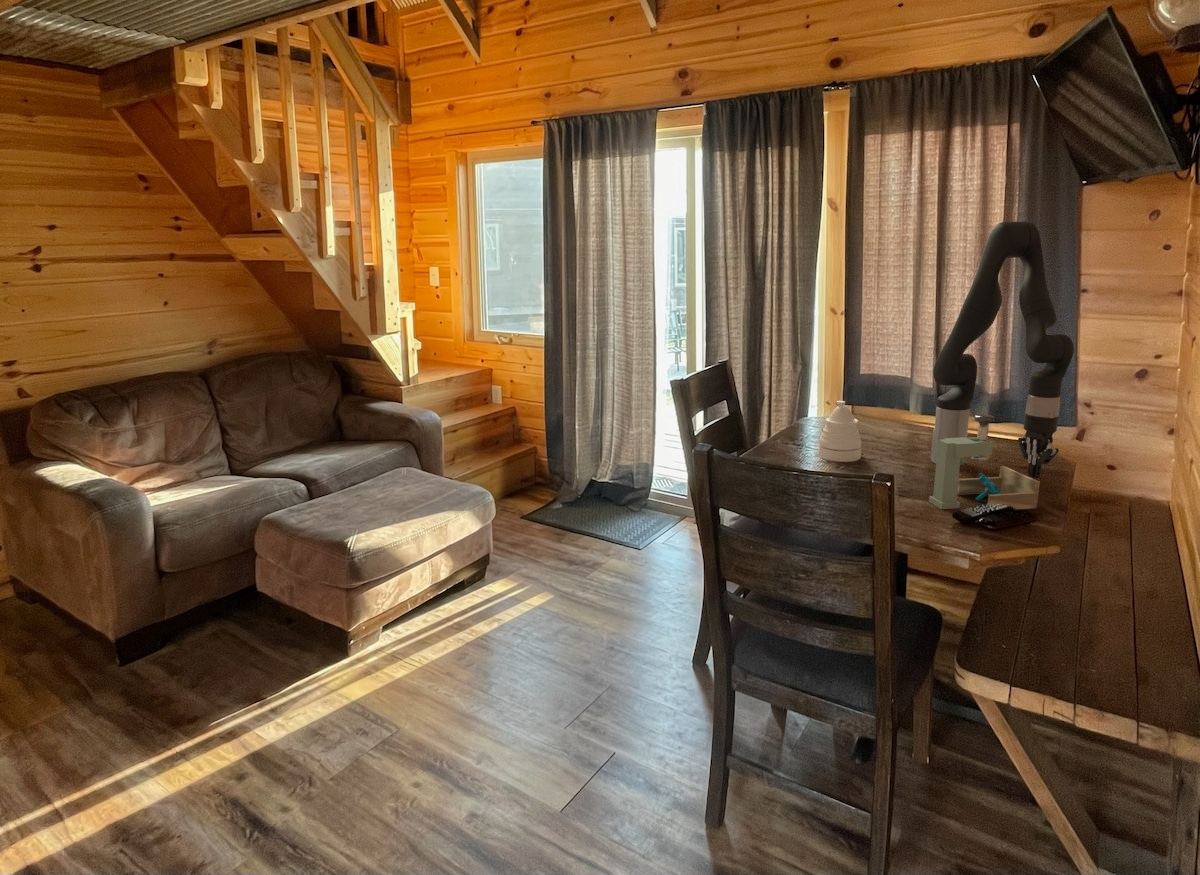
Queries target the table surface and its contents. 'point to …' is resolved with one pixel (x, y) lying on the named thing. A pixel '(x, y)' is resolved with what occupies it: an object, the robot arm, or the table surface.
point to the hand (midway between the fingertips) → (1033, 477)
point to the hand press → (953, 467)
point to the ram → (983, 432)
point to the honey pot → (840, 436)
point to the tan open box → (1005, 489)
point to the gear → (987, 487)
